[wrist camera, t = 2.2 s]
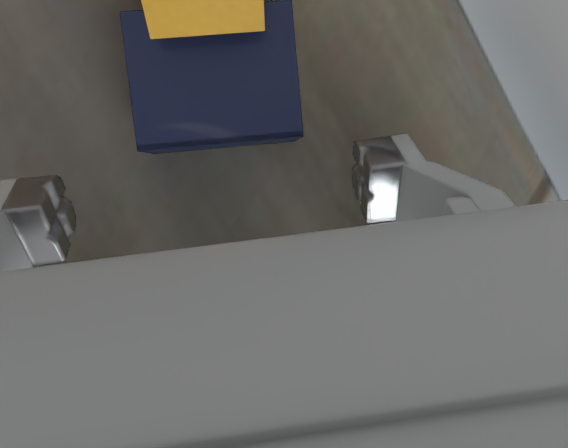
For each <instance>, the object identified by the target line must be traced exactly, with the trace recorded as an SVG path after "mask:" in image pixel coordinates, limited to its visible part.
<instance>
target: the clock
mask: <svg viewBox="0 0 568 448" xmlns="http://www.w3.org/2000/svg"><path fill="white" fill-rule="evenodd" d="M141 2H142V7H143V11H144V15H145V19H146V23H147V27H148V31H149V36H150V39H162V38H175V37H189V36H203V35H216V34H230V33H244V32H257V31H265V16H264V0H141Z"/></svg>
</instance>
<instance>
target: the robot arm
mask: <svg viewBox="0 0 568 448" xmlns="http://www.w3.org/2000/svg"><path fill="white" fill-rule="evenodd" d="M353 156H354V159H355V161H356V164H355V165H354V166H353V168H352V183H353V190H354V194H355V196H356V199H357V200H359V201H361V211H362V213H363V215H364V218H365V220H366V222H367V223H371V222H381V221H391V220H396V221H397V222H389V223H381V224H373V225H366V226H358V227H350V228H342V229H334V230H326V231H318V232H310V233H302V234H294V235H286V236H279V237H271V238H263V239H255V240H247V241H239V242H231V243H223V244H215V245H207V246H199V247H191V248H183V249H176V250H168V251H160V252H152V253H144V254H136V255H128V256H120V257H112V258H104V259H96V260H88V261H80V262H72V263H64V264H56V265H48V266H41V267H33V266H35V265H41V264H48V263H54V262H61V261H65V260H66V257H67V254H68V251H69V248H70V245H71V244H70V242H69V240H68V238H69V237H71V236H72V235H73V234H74V232H75V228H76V215H75V211H74V207H73V205H72V202H71V201H70V200H69V199H67V198H66V197H64V196H63V194H64V191H65V186H64V183H63V181H62V179H61V177H59V176H58V175H48V176H37V177H27V178H20V179H19V178H15V179H7V180H1V181H0V448H568V200H564V201H556V202H548V203H540V204H532V205H524V206H515V205H514V203H513V202H512V201H511V200H510V199H509V197H508V196H507V195H506V194H505V193H504V191H503V190H500V189H498V188H496V187H493V186H491V185H488V184H486V183H483V182H481V181H479V180H476V179H474V178H471V177H469V176H467V175H464V174H462V173H459V172H457V171H454V170H452V169H450V168H447V167H445V166H442V165H440V164H437V163H435V162H433V161H430V162H427V161H426V160H425V158H424V157H423V155H422V154H421V152H420V151H419V150H418V148H417V147H416V145H415V144H414V142H413V141H412V139H411V138H410V137H409V135H408V134H400V135H394V136H386V137H379V138H372V139H365V140H358V141H354V145H353Z"/></svg>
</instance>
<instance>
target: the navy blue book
mask: <svg viewBox="0 0 568 448" xmlns="http://www.w3.org/2000/svg"><path fill="white" fill-rule="evenodd" d="M264 16H265V31H257V32H244V33H230V34H216V35H203V36H189V37H175V38H162V39H150V36H149V31H148V27H147V23H146V19H145V15H144V11H143V10H137V11H123V12H120V18H121V26H122V34H123V42H124V50H125V57H126V65H127V73H128V81H129V89H130V97H131V105H132V113H133V121H134V128H135V136H136V144H137V151H139V152H145V153H151V154H158V153H169V152H180V151H191V150H202V149H213V148H224V147H236V146H247V145H258V144H269V143H280V142H291V141H296V140H297V139H299V138H301V137H303V125H302V114H301V102H300V91H299V79H298V67H297V56H296V44H295V33H294V21H293V10H292V0H282V1H268V2H264Z"/></svg>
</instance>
